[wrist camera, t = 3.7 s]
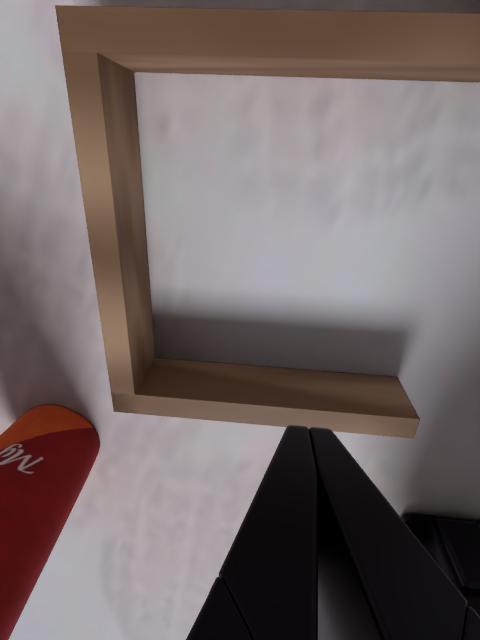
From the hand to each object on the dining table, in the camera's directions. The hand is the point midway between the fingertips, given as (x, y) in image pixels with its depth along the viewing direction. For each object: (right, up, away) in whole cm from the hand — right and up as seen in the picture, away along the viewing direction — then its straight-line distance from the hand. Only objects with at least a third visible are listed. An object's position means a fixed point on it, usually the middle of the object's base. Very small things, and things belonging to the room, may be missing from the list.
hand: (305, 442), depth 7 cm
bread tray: (+1, +6, +11) cm, 12 cm away
